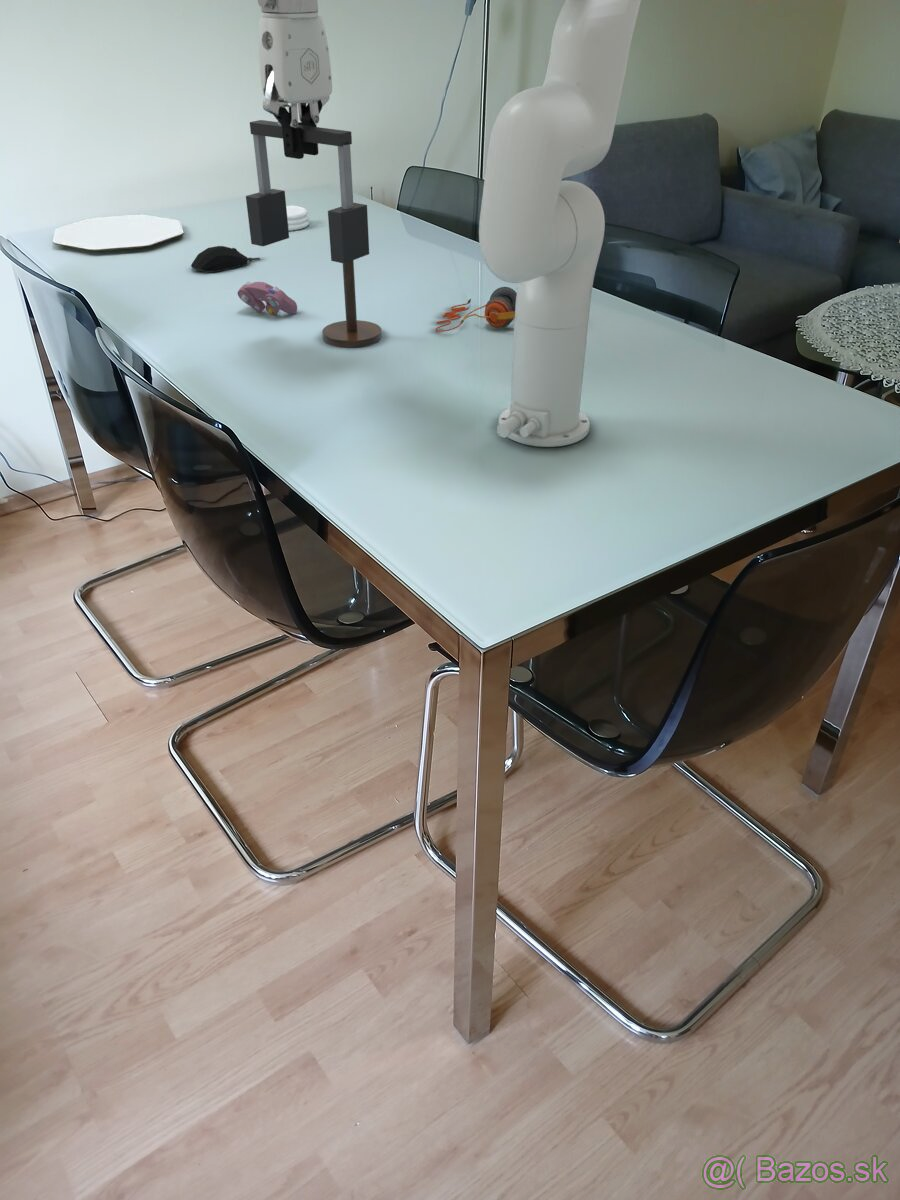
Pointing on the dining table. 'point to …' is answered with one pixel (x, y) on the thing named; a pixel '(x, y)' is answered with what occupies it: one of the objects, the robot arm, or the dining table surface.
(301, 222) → the stack of white coasters
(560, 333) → the robot arm
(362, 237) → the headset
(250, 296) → the video game controller
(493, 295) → the headphones
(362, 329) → the headphone stand
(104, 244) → the plate
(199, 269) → the gaming mouse
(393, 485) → the dining table surface
